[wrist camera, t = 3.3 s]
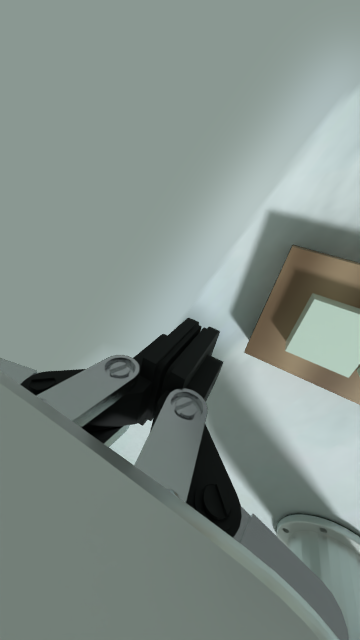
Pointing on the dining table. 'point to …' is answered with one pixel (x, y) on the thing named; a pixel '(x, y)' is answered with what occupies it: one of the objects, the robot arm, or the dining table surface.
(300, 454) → the dining table surface
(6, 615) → the robot arm
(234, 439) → the dining table surface
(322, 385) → the board
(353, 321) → the tile
